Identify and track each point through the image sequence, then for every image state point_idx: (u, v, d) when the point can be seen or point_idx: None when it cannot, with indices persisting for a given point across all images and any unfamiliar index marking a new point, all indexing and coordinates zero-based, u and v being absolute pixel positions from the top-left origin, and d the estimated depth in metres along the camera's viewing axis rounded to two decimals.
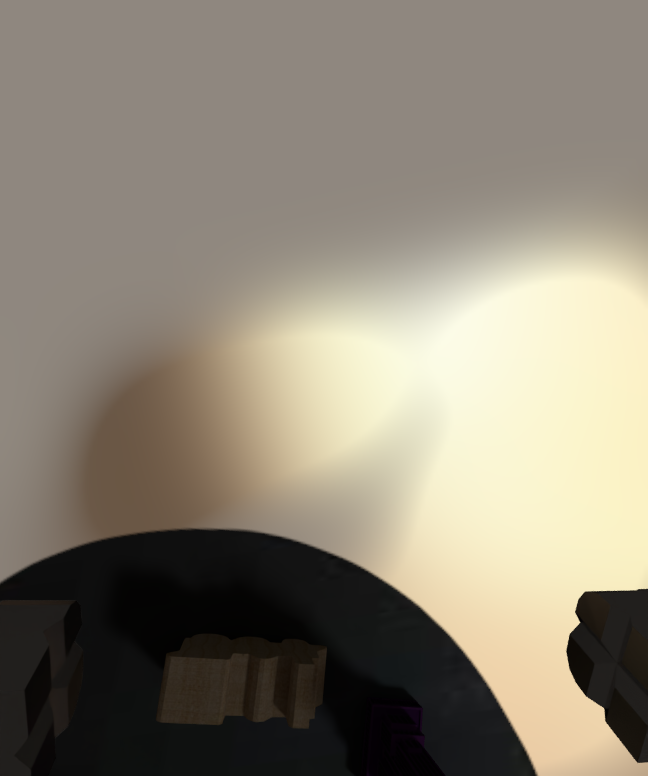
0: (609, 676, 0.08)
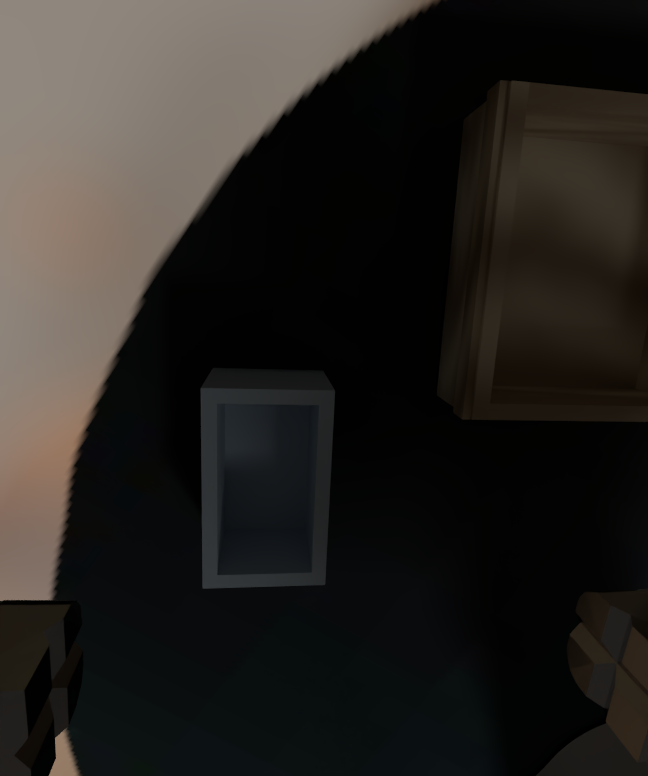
0: (609, 676, 0.08)
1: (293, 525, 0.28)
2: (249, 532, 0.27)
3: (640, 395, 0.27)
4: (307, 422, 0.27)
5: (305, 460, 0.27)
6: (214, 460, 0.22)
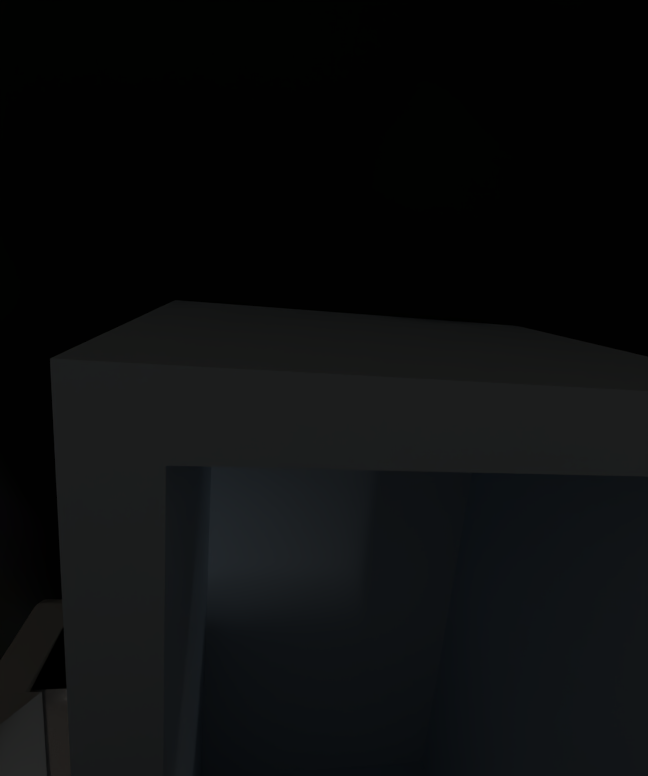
0: None
1: (393, 758, 0.10)
2: None
3: None
4: (465, 484, 0.09)
5: (444, 589, 0.09)
6: (151, 773, 0.04)
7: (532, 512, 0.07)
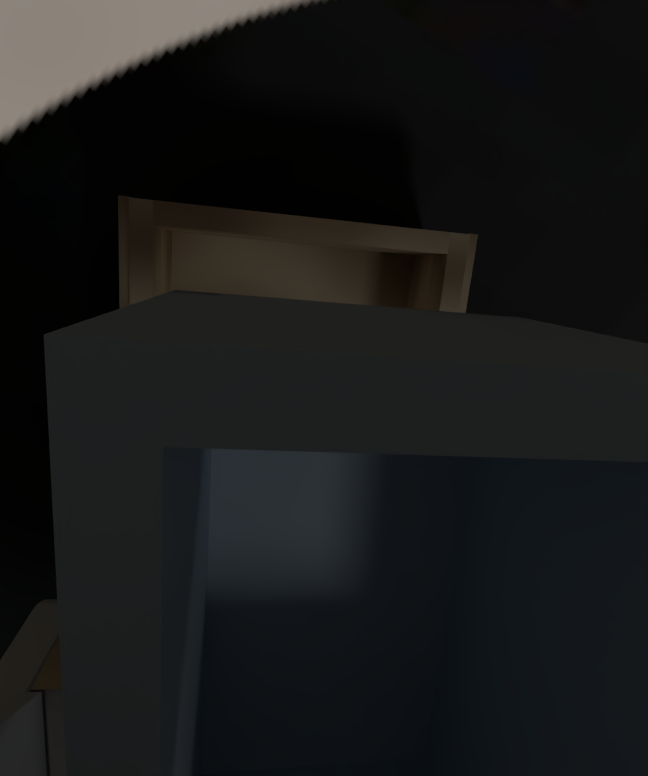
0: None
1: (393, 754, 0.10)
2: None
3: None
4: (468, 477, 0.09)
5: (446, 585, 0.09)
6: (148, 766, 0.04)
7: (536, 504, 0.07)
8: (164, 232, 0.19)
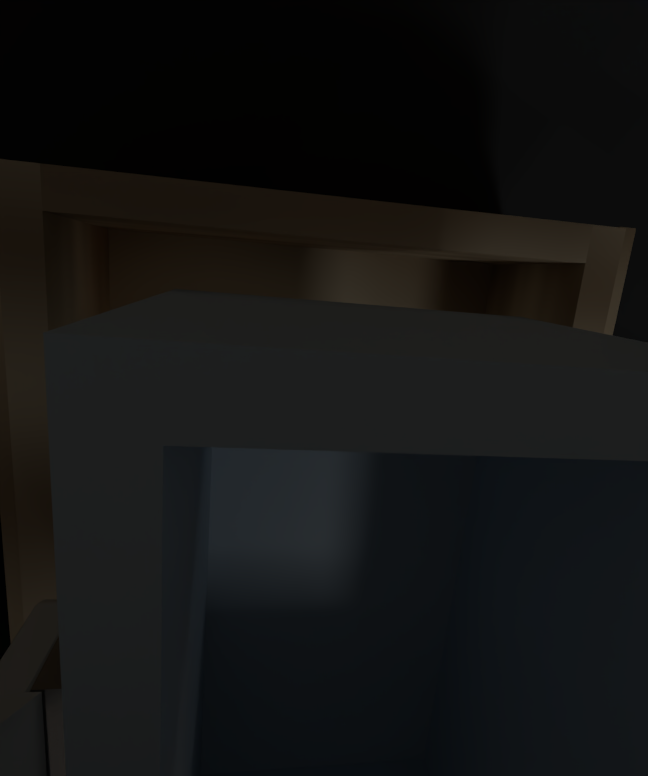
0: None
1: (394, 754, 0.10)
2: None
3: None
4: (468, 477, 0.09)
5: (447, 584, 0.09)
6: (147, 765, 0.04)
7: (537, 504, 0.07)
8: (85, 229, 0.11)
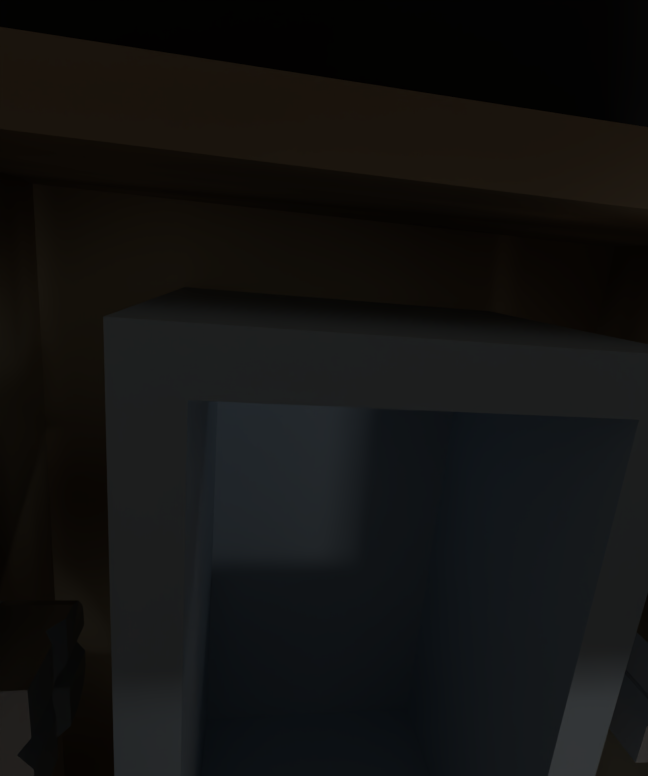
0: None
1: (379, 704, 0.11)
2: (271, 732, 0.10)
3: None
4: (442, 452, 0.10)
5: (425, 549, 0.10)
6: (173, 651, 0.05)
7: (495, 469, 0.08)
8: None
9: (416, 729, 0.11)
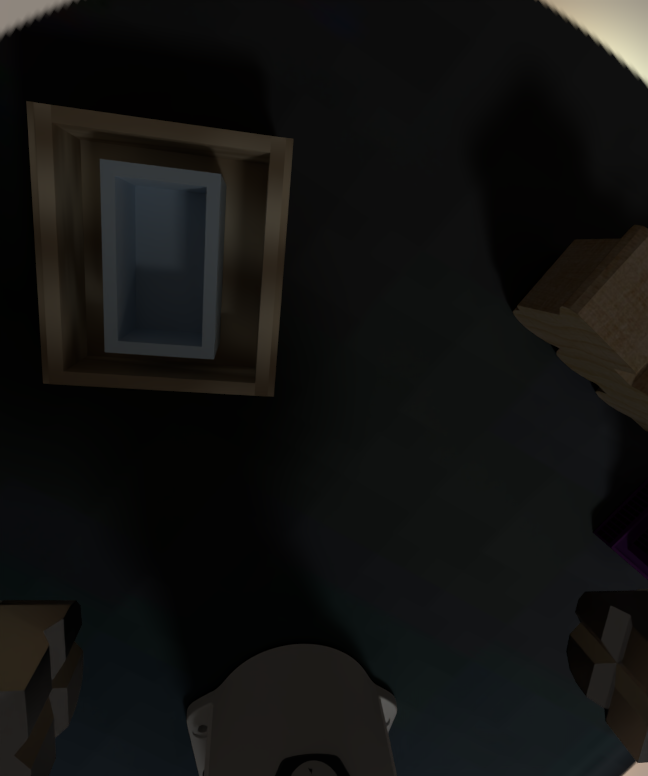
0: (609, 676, 0.08)
1: (198, 329, 0.32)
2: (157, 330, 0.31)
3: (238, 372, 0.32)
4: None
5: None
6: (113, 230, 0.25)
7: None
8: (68, 135, 0.26)
9: None
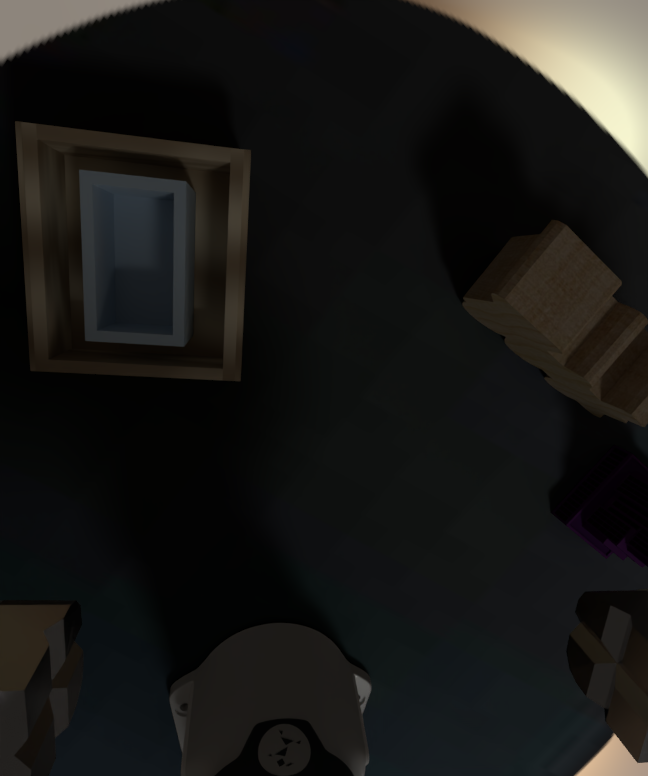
0: (609, 676, 0.08)
1: (172, 323, 0.35)
2: (135, 324, 0.34)
3: (209, 361, 0.35)
4: None
5: None
6: (92, 231, 0.29)
7: None
8: (53, 150, 0.30)
9: None
